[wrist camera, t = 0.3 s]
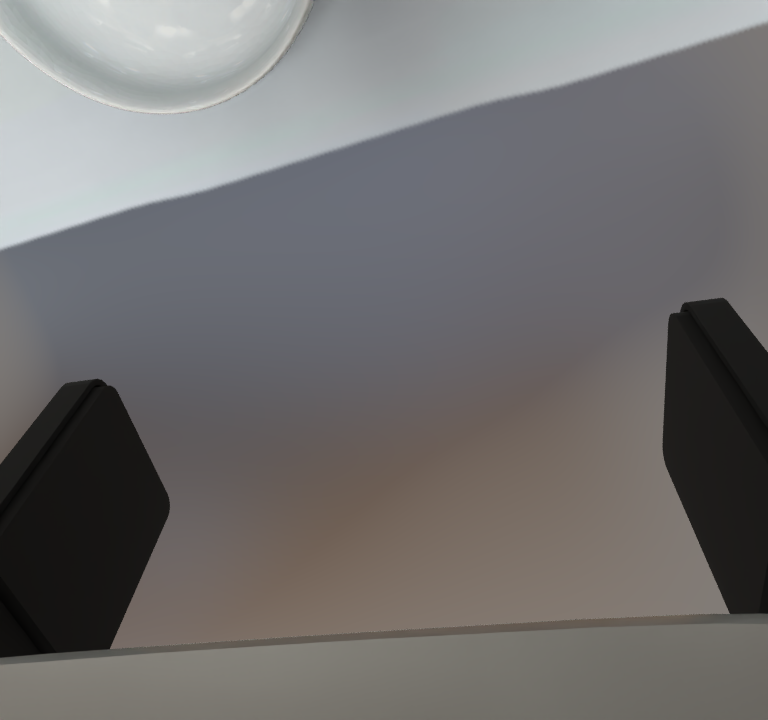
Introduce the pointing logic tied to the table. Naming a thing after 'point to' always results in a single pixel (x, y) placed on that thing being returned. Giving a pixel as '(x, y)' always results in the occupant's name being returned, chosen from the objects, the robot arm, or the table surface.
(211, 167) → the table surface
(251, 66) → the cereal bowl
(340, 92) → the table surface
